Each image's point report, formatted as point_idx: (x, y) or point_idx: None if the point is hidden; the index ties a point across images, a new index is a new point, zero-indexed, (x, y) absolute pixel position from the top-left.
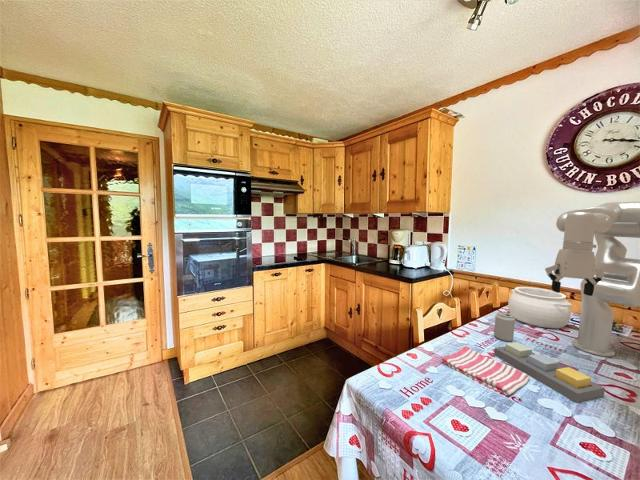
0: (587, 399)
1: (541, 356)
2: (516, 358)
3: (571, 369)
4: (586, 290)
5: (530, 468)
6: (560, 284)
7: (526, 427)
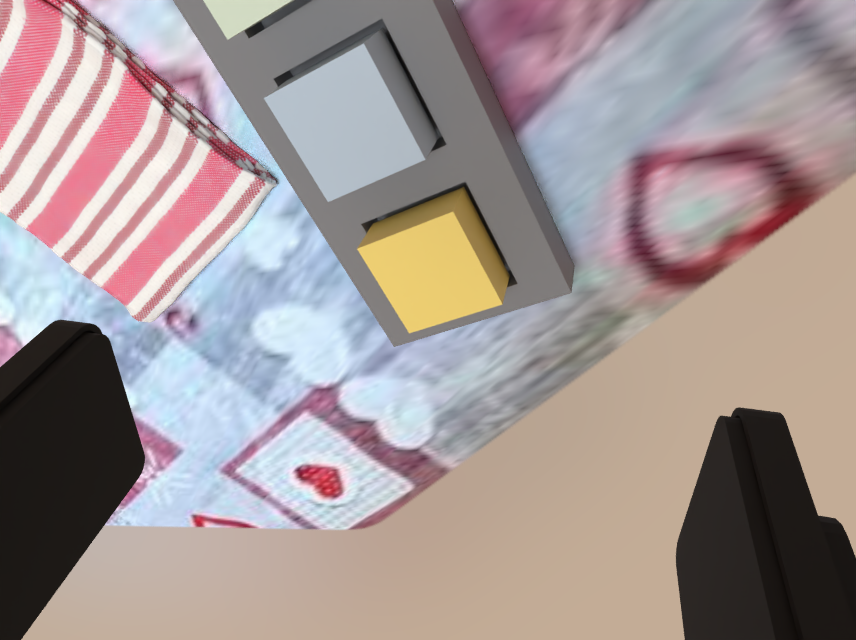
0: None
1: (347, 95)
2: (224, 49)
3: (449, 237)
4: (716, 554)
5: (158, 517)
6: (32, 618)
7: (180, 430)
